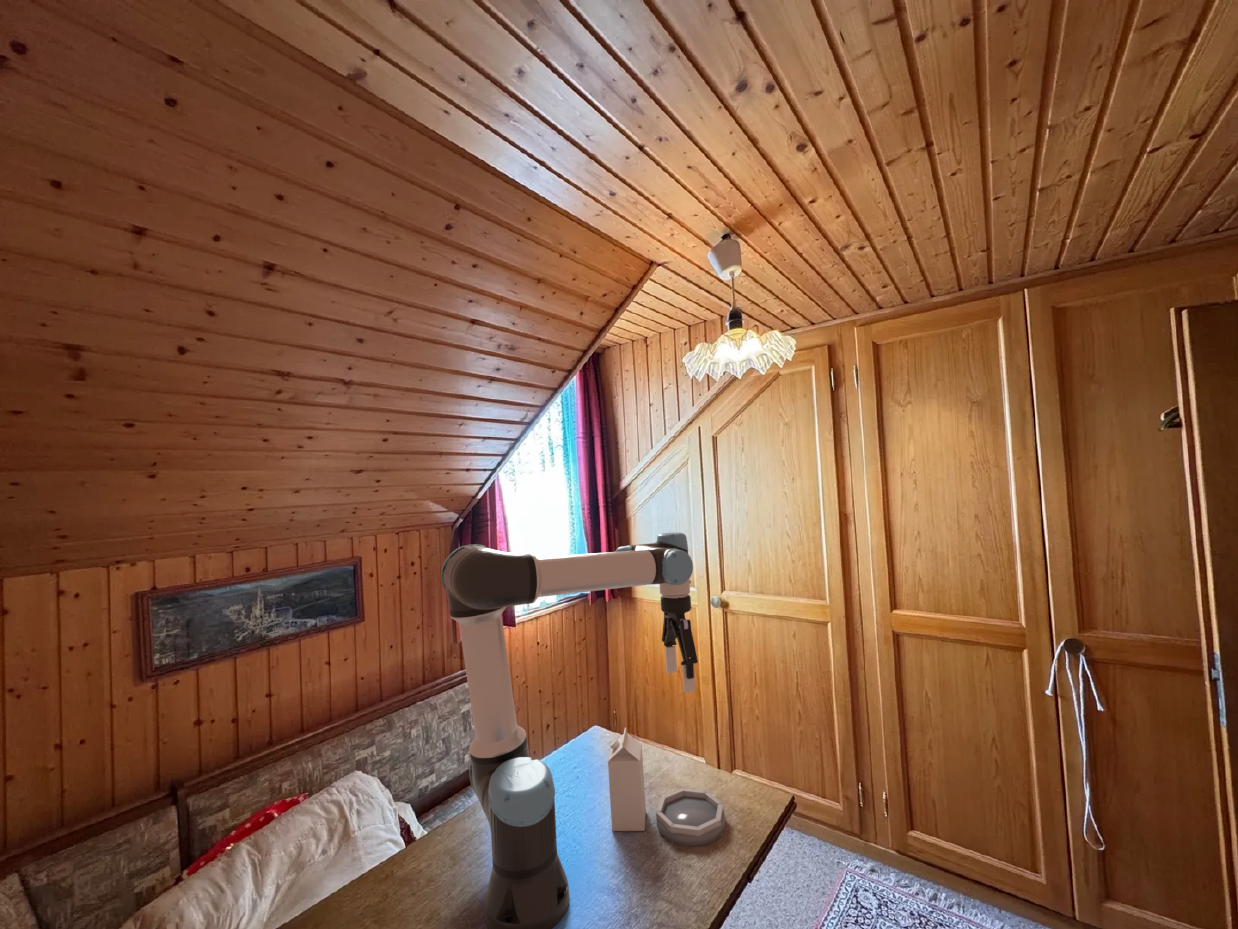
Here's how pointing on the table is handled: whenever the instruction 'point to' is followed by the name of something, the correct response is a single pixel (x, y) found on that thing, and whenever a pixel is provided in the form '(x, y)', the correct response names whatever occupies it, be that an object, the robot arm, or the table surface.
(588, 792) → the table surface
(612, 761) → the milk carton
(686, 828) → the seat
